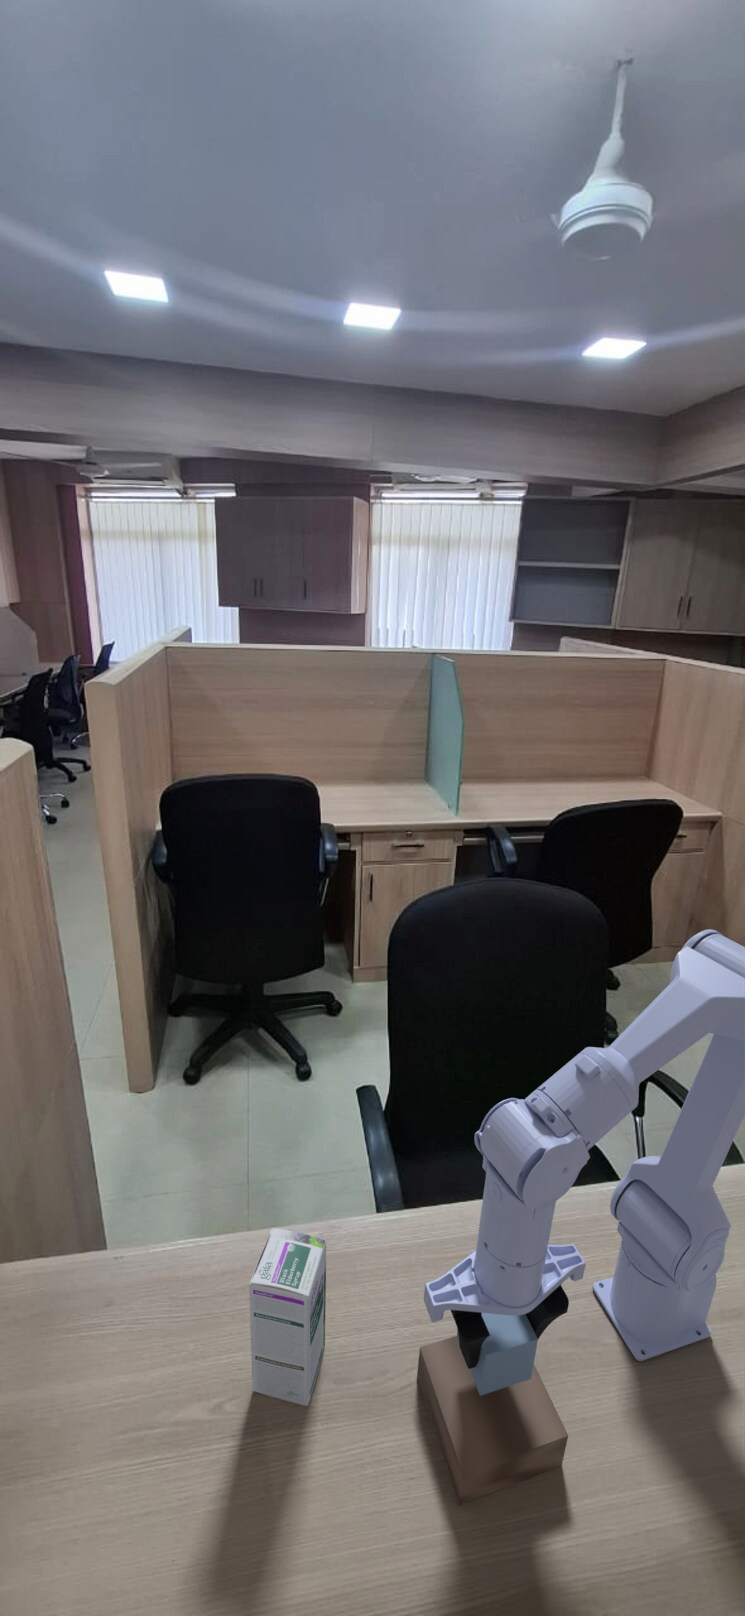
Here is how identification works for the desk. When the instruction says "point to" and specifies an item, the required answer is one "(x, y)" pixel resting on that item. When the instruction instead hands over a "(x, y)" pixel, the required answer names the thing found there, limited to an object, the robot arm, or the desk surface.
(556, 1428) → the walnut block
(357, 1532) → the desk surface
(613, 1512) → the desk surface
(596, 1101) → the robot arm
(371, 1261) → the desk surface
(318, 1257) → the syrup box
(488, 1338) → the blue cube
